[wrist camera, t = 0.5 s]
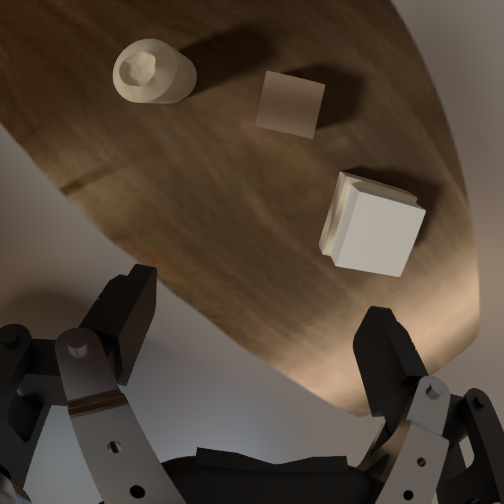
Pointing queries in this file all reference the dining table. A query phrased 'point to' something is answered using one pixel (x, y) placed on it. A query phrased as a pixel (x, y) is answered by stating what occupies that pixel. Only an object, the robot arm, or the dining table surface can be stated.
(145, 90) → the candle
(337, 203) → the slab lower
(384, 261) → the slab upper
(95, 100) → the dining table surface
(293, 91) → the walnut block
